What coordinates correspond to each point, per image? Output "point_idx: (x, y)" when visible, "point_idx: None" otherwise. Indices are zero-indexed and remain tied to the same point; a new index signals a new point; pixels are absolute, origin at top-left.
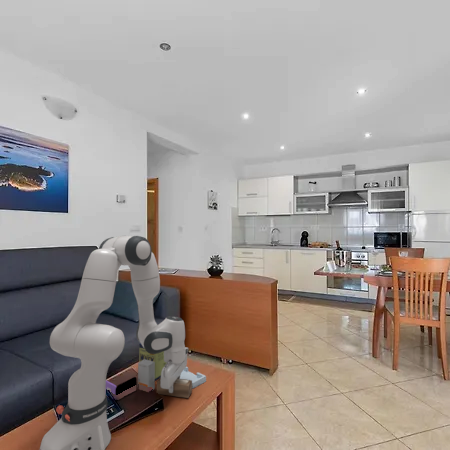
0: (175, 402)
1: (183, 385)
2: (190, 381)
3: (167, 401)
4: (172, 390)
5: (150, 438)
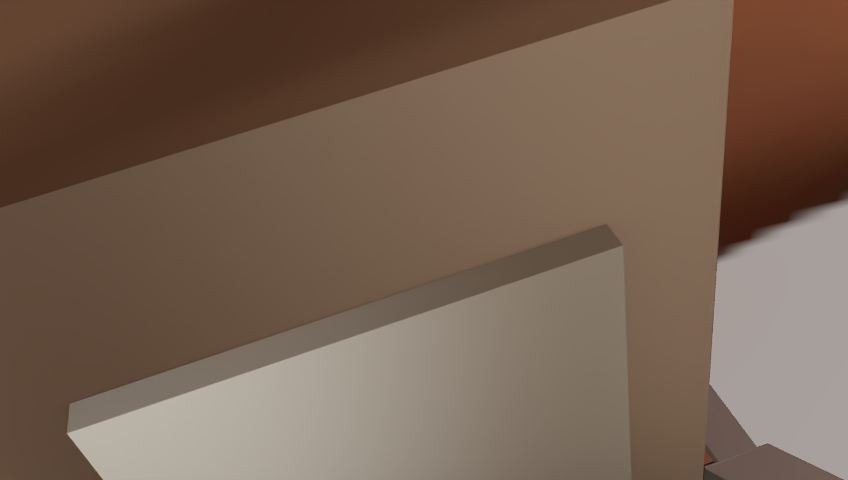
0: None
1: (706, 284)
2: (40, 251)
3: None
4: (725, 406)
5: None
